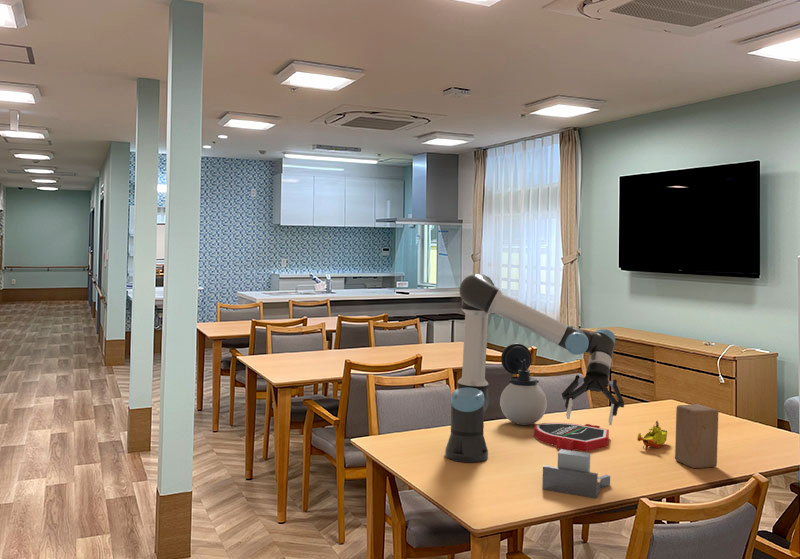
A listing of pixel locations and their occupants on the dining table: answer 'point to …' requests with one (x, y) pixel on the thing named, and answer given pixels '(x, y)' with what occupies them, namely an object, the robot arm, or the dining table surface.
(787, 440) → the dining table surface
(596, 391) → the robot arm
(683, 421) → the wooden block
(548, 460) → the dining table surface
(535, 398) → the light fixture
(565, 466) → the panel
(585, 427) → the emblem
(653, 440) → the toy submarine
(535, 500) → the dining table surface
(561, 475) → the rack
